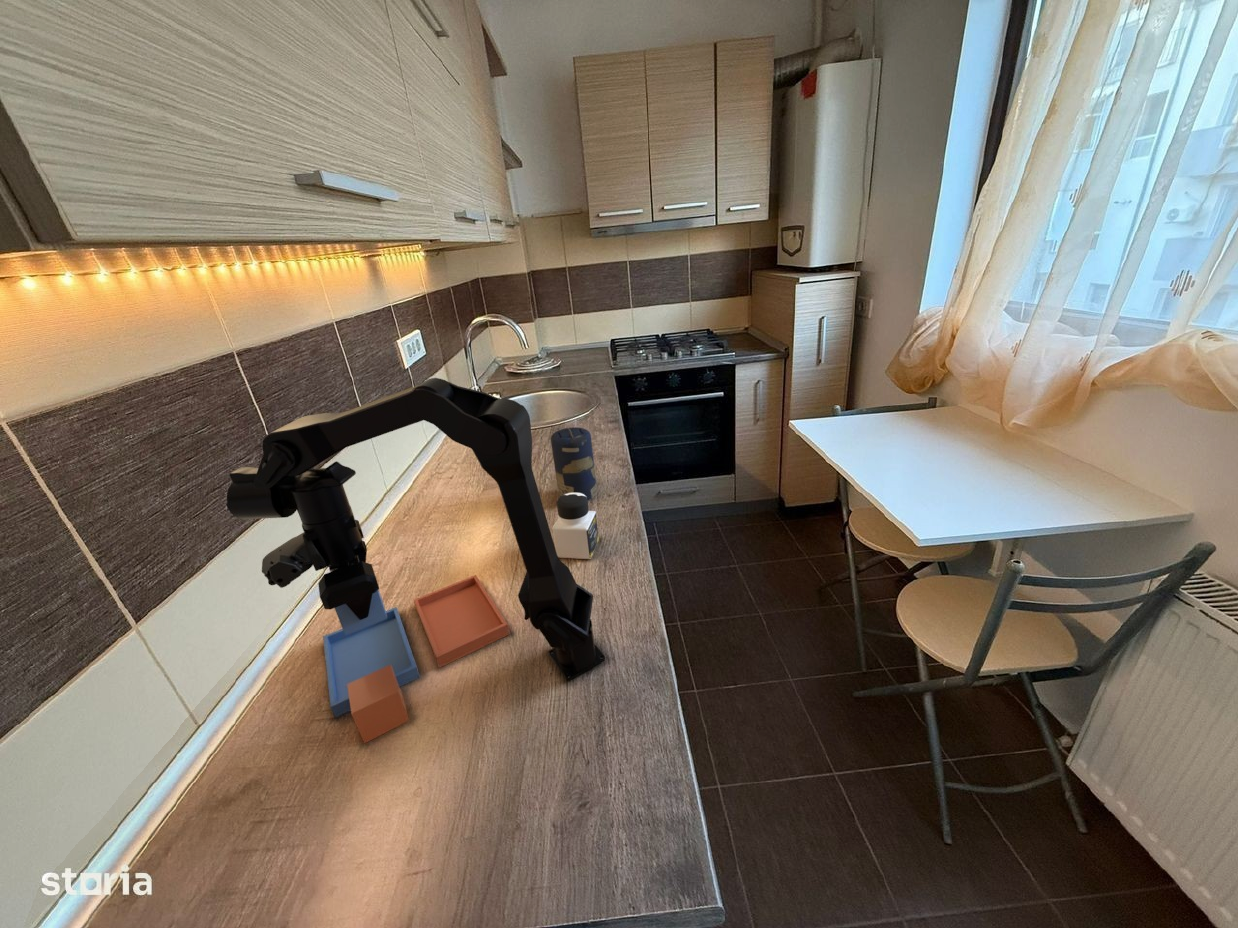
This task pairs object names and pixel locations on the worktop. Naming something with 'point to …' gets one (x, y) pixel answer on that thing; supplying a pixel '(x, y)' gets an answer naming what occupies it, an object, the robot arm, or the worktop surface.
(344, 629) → the blue block
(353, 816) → the worktop surface
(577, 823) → the worktop surface
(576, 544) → the medicine bottle
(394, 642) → the blue tray
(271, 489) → the robot arm
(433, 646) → the terracotta tray
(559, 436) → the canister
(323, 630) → the worktop surface
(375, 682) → the terracotta block
